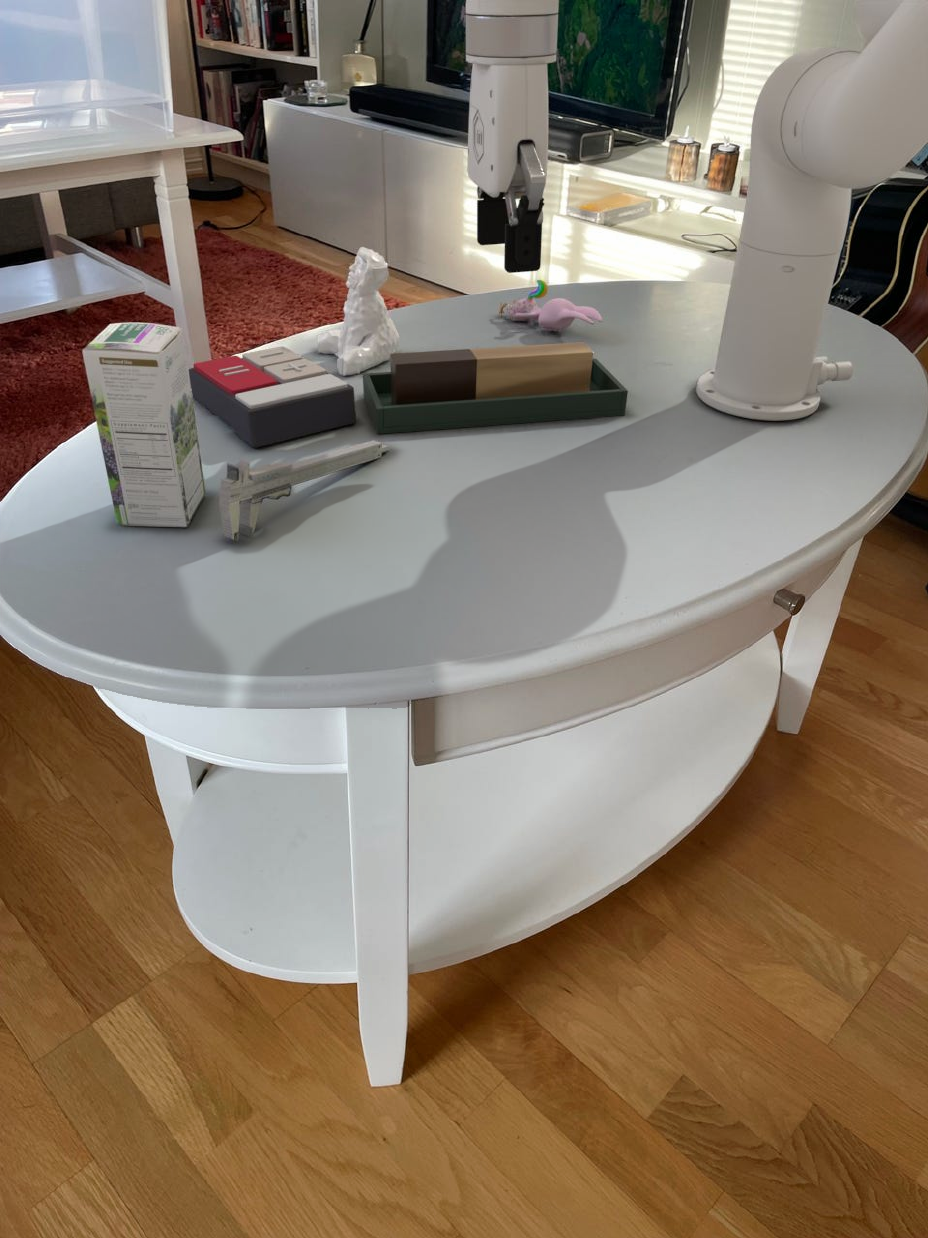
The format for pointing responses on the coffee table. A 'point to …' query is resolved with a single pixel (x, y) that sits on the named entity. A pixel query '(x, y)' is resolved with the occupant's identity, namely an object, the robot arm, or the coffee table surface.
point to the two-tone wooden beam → (490, 373)
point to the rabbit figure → (548, 310)
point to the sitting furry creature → (363, 319)
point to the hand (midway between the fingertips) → (507, 256)
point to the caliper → (280, 483)
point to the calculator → (272, 395)
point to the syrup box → (146, 423)
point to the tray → (493, 406)
